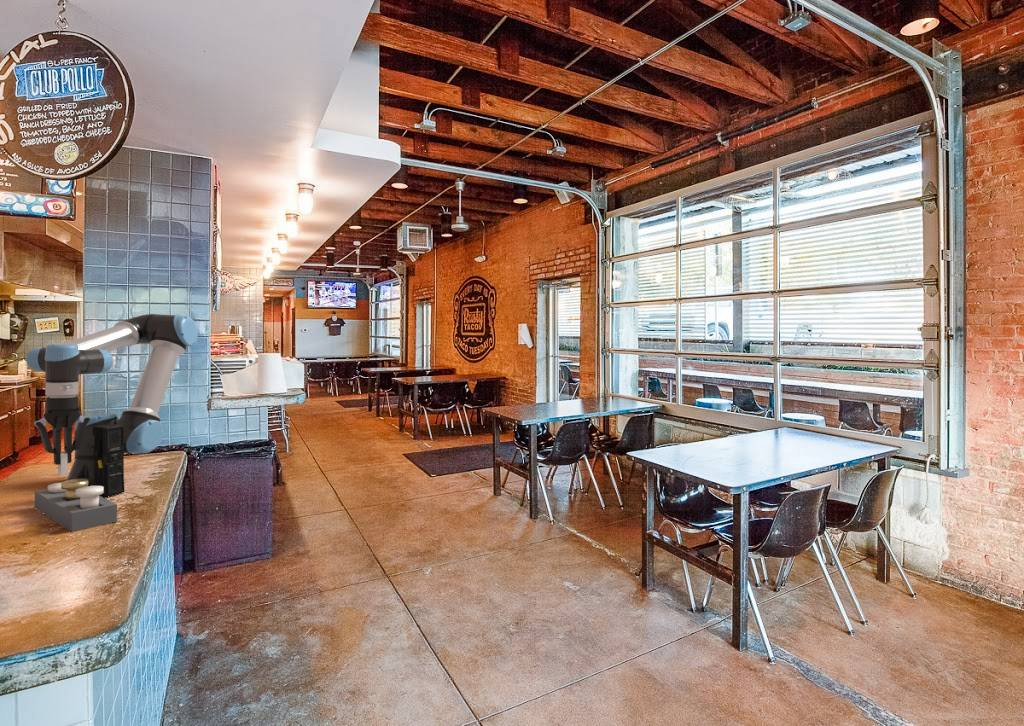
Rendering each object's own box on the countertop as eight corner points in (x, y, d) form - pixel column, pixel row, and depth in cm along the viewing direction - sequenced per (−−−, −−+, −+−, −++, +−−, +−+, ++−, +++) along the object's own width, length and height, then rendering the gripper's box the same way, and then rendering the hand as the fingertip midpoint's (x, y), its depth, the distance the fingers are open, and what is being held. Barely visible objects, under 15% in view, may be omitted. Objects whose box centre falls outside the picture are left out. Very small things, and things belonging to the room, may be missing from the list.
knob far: (98, 506, 149) (98, 484, 148) (107, 510, 145) (107, 488, 145) (71, 511, 144) (72, 488, 143) (80, 516, 140) (80, 493, 140)
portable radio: (103, 499, 165) (104, 420, 165) (87, 497, 167) (88, 419, 166) (126, 492, 173) (127, 417, 172) (111, 490, 174) (112, 416, 173)
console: (76, 500, 163) (76, 484, 163) (116, 522, 147) (117, 504, 146) (34, 508, 155) (34, 491, 155) (71, 531, 138) (72, 513, 138)
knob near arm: (69, 501, 161) (70, 481, 161) (77, 505, 158) (77, 484, 157) (44, 505, 156) (44, 484, 156) (51, 509, 153) (51, 488, 152)
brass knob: (83, 498, 155) (83, 477, 155) (91, 502, 151) (91, 481, 151) (57, 503, 150) (57, 481, 150) (65, 507, 146) (65, 485, 146)
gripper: (37, 399, 148) (38, 481, 149) (94, 395, 159) (94, 472, 160) (29, 396, 152) (29, 476, 154) (84, 393, 163) (84, 468, 164)
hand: (62, 474), depth 157 cm, fingers closed
